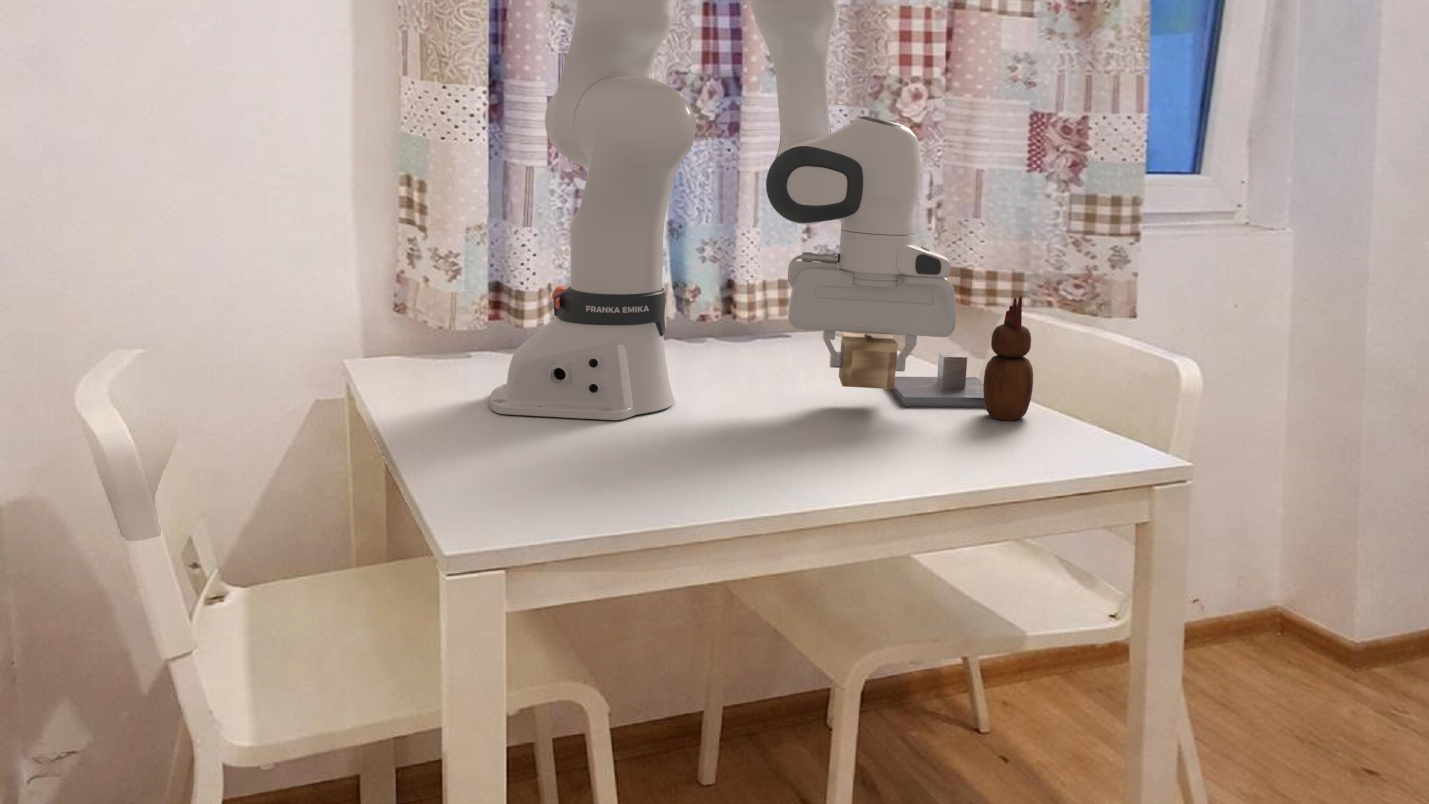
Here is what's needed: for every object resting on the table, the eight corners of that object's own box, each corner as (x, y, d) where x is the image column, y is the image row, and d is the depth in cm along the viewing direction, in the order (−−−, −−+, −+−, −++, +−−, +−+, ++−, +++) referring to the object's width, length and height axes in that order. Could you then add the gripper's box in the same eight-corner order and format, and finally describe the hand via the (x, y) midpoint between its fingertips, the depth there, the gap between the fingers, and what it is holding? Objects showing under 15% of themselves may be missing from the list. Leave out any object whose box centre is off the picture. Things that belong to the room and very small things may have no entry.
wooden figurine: (1031, 425, 155) (1040, 299, 152) (981, 422, 156) (989, 296, 153) (1029, 412, 162) (1038, 290, 158) (981, 409, 163) (989, 288, 159)
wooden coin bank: (842, 386, 159) (846, 339, 157) (838, 376, 165) (842, 331, 164) (894, 389, 159) (897, 342, 157) (888, 379, 165) (891, 334, 163)
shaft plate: (903, 406, 163) (905, 365, 162) (886, 385, 175) (888, 346, 174) (998, 407, 164) (1001, 366, 163) (975, 386, 176) (977, 347, 174)
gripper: (790, 253, 155) (782, 369, 158) (963, 263, 155) (953, 378, 158) (788, 248, 162) (781, 359, 164) (955, 257, 161) (944, 368, 164)
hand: (866, 368), depth 161 cm, fingers closed on wooden coin bank, 6 cm apart
